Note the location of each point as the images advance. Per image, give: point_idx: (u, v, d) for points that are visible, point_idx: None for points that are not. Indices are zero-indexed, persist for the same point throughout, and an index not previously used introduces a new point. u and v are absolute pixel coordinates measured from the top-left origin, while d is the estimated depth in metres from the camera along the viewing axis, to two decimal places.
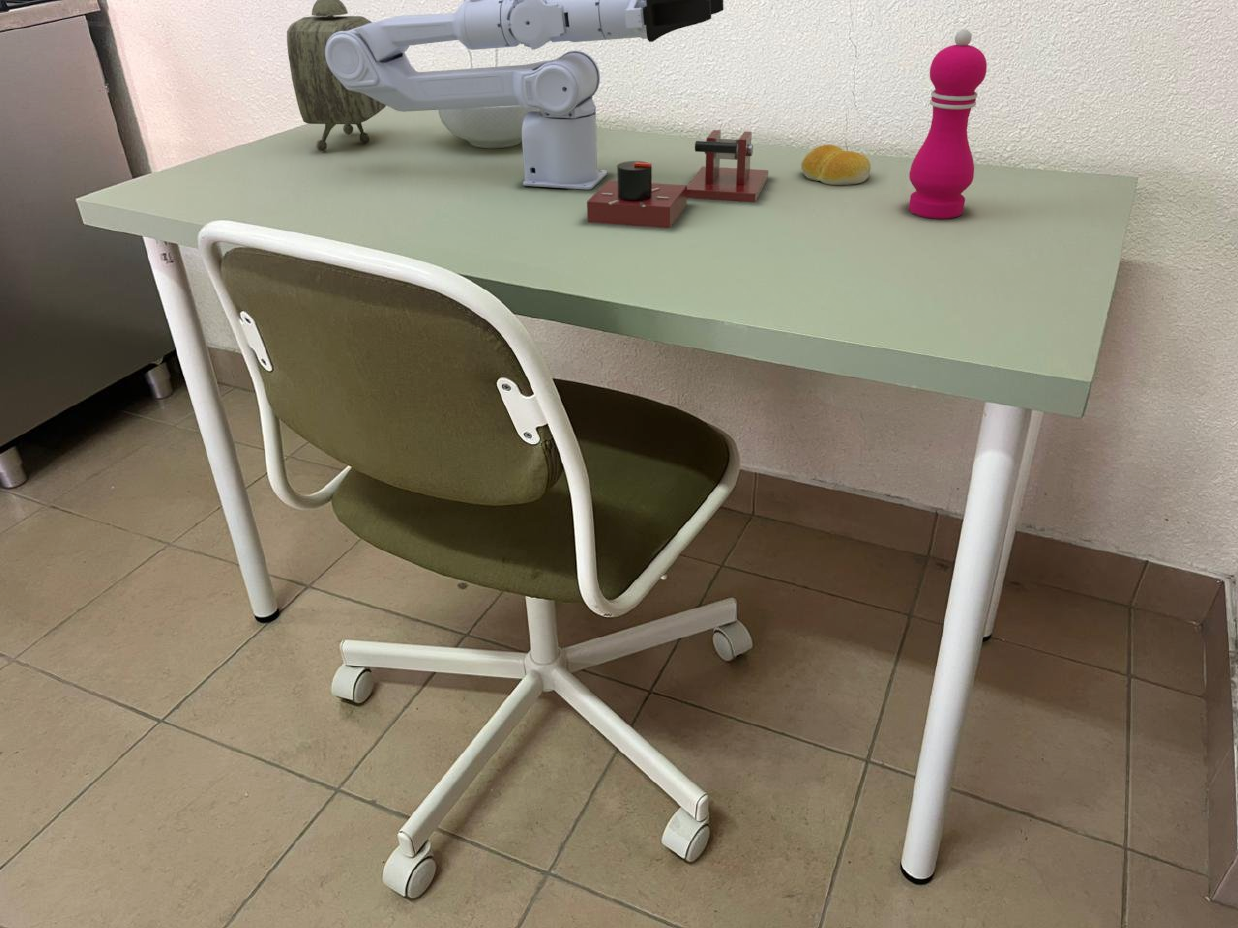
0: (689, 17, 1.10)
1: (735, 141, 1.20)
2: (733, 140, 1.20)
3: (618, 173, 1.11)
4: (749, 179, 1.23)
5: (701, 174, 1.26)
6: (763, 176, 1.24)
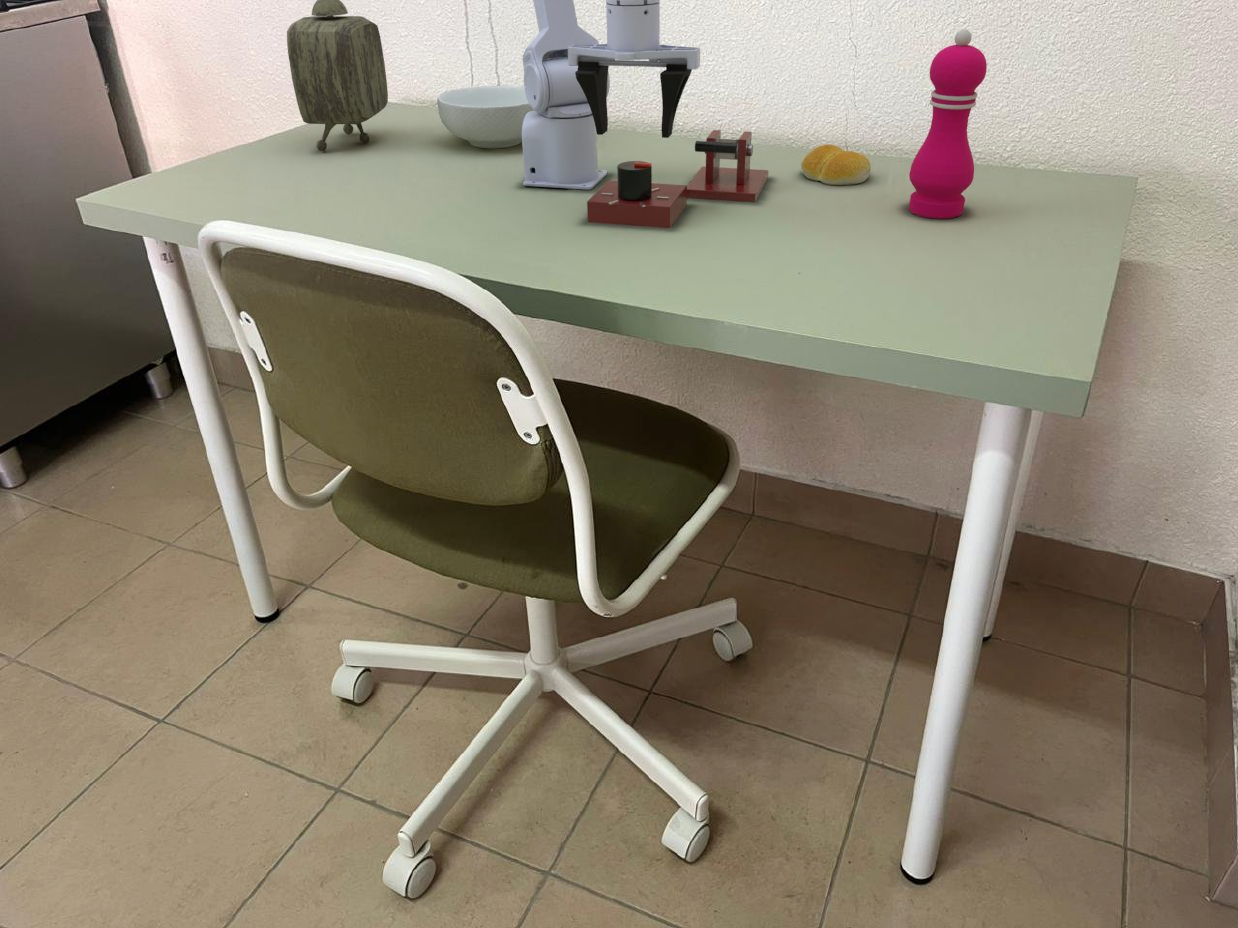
0: None
1: (735, 141, 1.20)
2: (733, 140, 1.20)
3: (618, 173, 1.11)
4: (749, 179, 1.23)
5: (701, 174, 1.26)
6: (763, 176, 1.24)
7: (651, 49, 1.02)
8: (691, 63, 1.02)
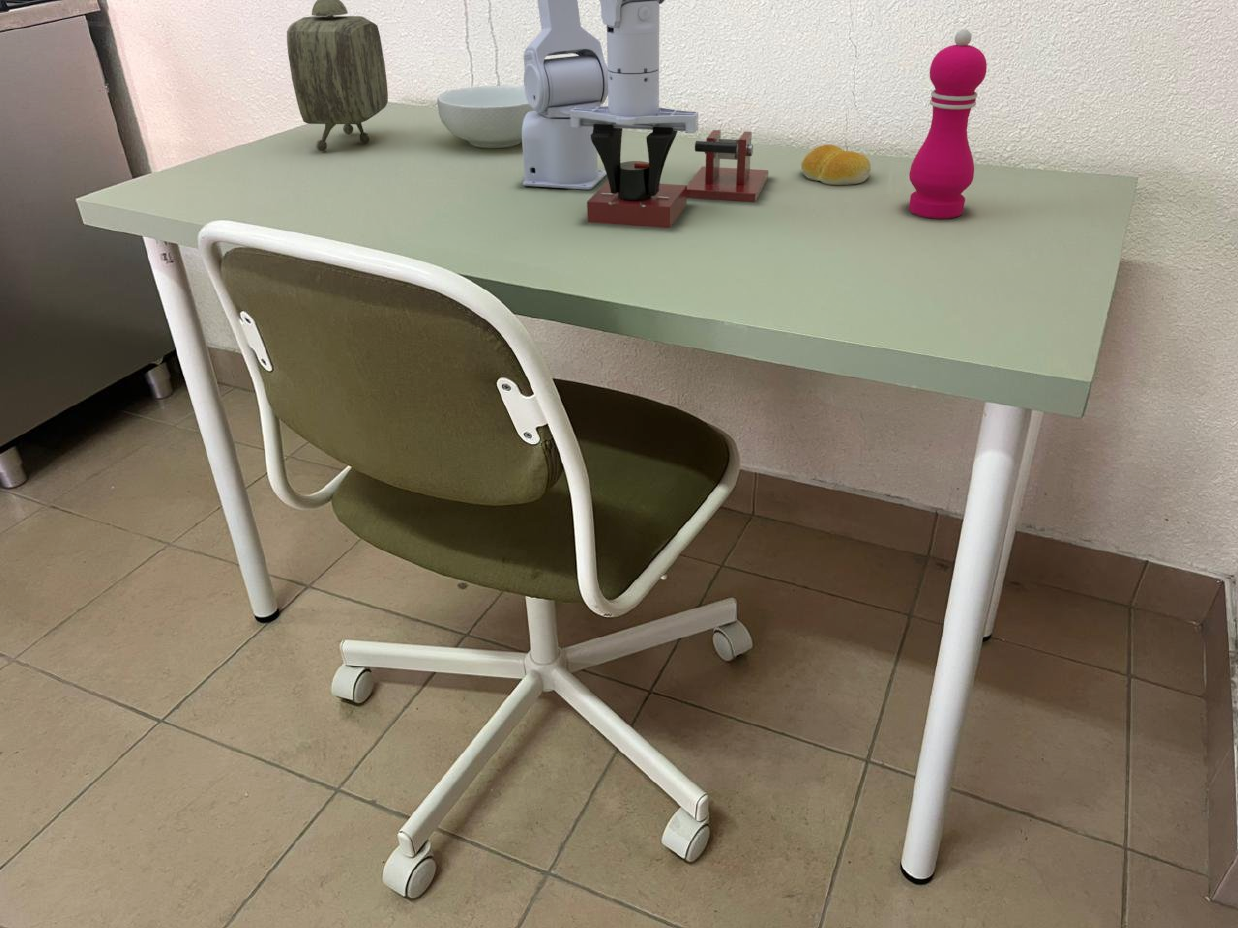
0: None
1: (735, 141, 1.20)
2: (733, 140, 1.20)
3: (618, 173, 1.11)
4: (749, 179, 1.23)
5: (701, 174, 1.26)
6: (763, 176, 1.24)
7: (651, 114, 1.06)
8: (689, 127, 1.06)
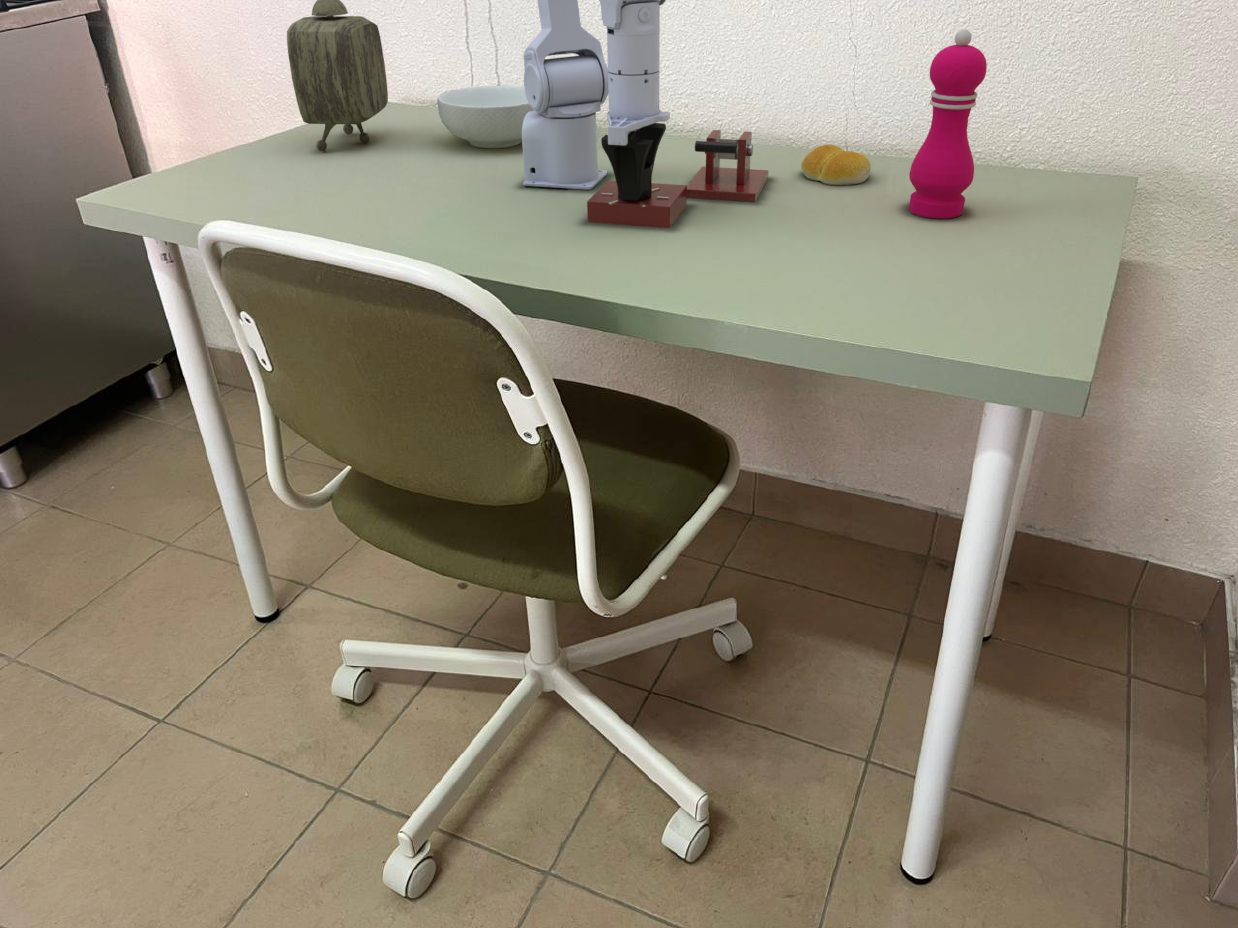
0: (623, 179, 1.09)
1: (735, 141, 1.20)
2: (733, 140, 1.20)
3: None
4: (749, 179, 1.23)
5: (701, 174, 1.26)
6: (763, 176, 1.24)
7: None
8: None
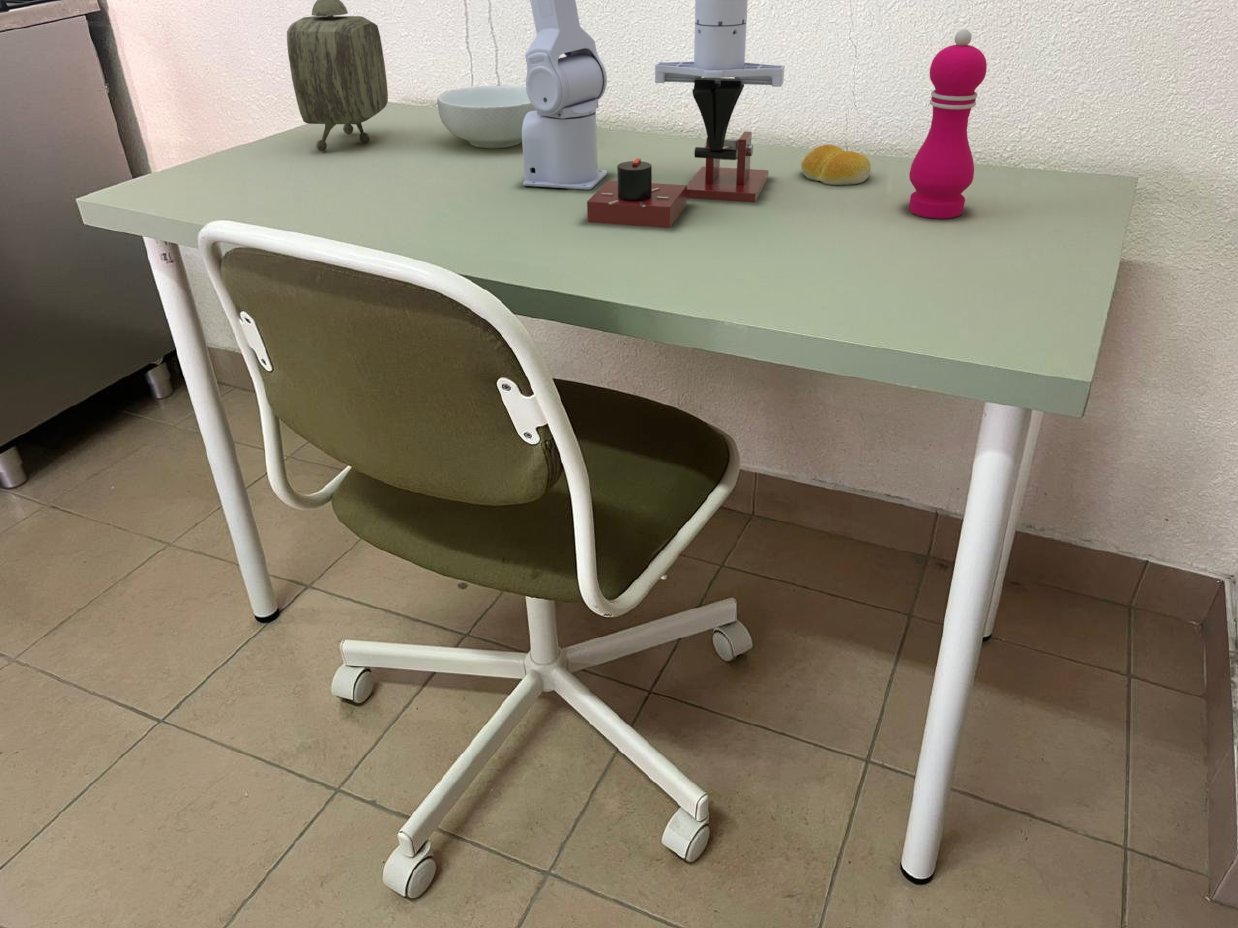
0: None
1: (735, 142, 1.19)
2: (733, 141, 1.19)
3: (640, 176, 1.10)
4: (749, 179, 1.23)
5: (701, 174, 1.26)
6: (763, 176, 1.24)
7: (738, 67, 1.06)
8: (776, 81, 1.06)
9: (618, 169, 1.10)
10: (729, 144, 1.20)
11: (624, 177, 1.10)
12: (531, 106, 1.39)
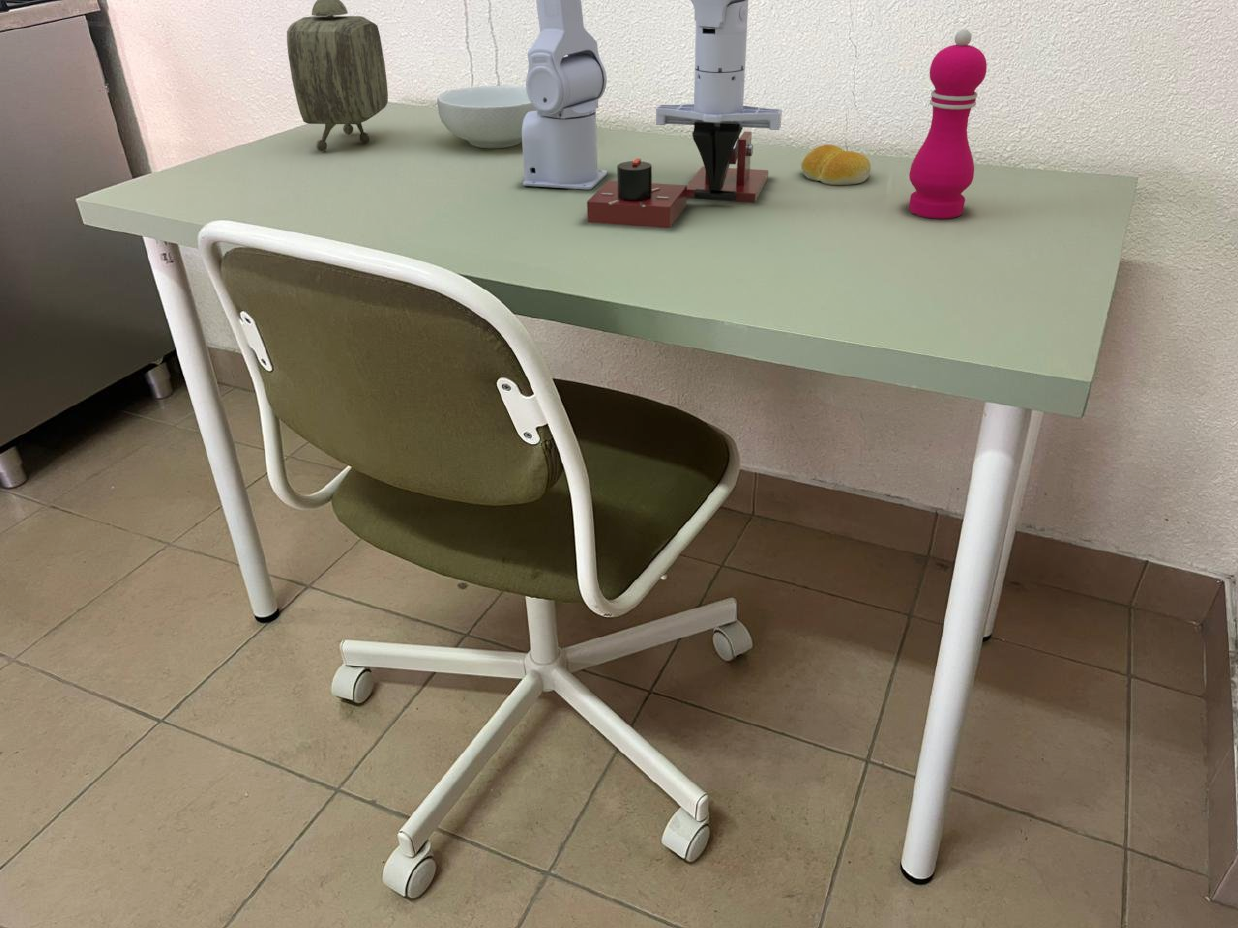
0: None
1: (734, 149, 1.20)
2: None
3: (640, 176, 1.10)
4: (749, 179, 1.23)
5: (701, 174, 1.26)
6: (763, 176, 1.24)
7: (736, 111, 1.09)
8: (774, 124, 1.09)
9: (618, 169, 1.10)
10: None
11: (624, 177, 1.10)
12: (531, 106, 1.39)
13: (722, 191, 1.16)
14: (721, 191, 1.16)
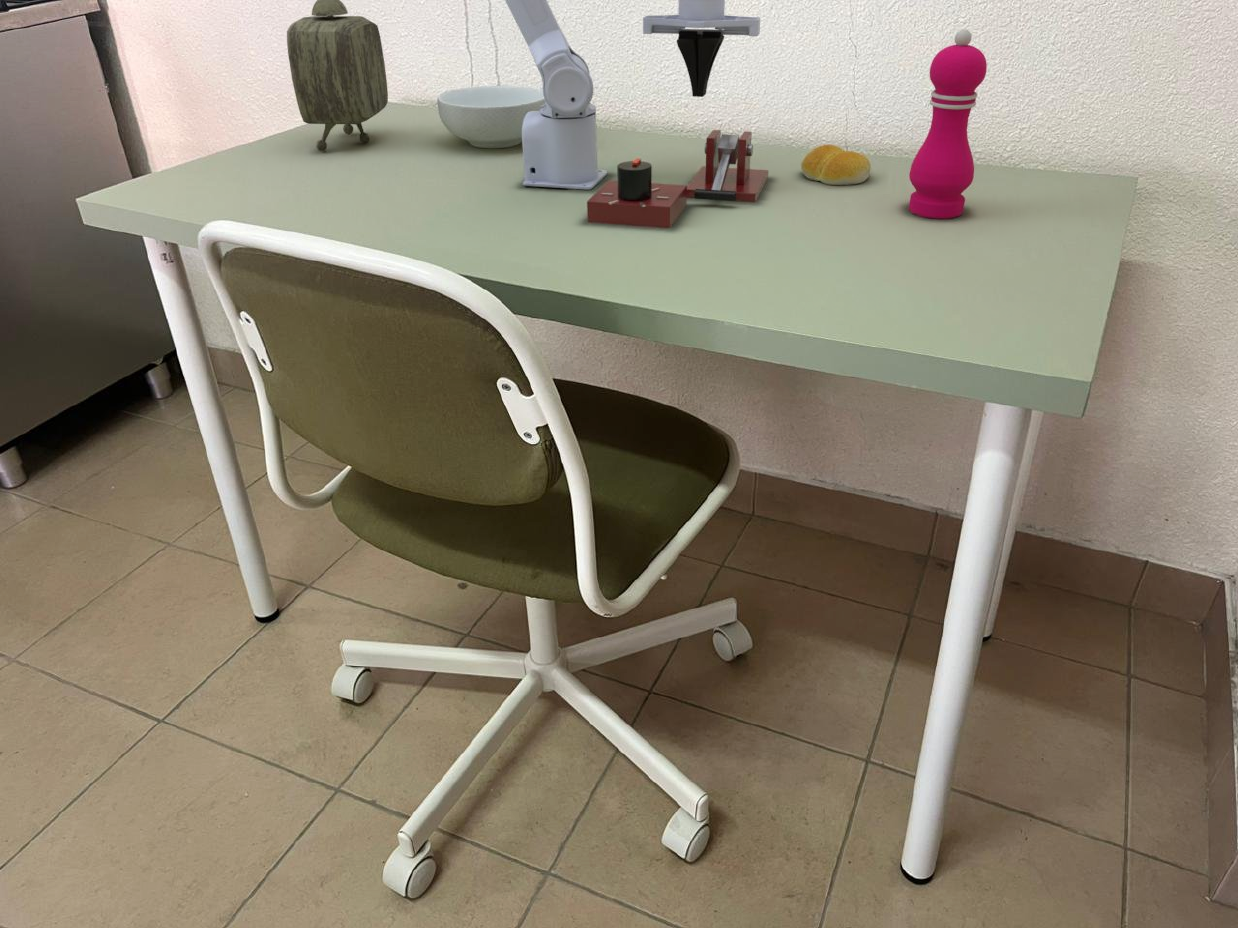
0: None
1: (734, 149, 1.20)
2: (732, 149, 1.19)
3: (640, 176, 1.10)
4: (749, 179, 1.23)
5: (701, 174, 1.26)
6: (763, 176, 1.24)
7: (718, 18, 1.17)
8: (753, 31, 1.17)
9: (618, 169, 1.10)
10: (728, 151, 1.20)
11: (624, 177, 1.10)
12: (531, 106, 1.39)
13: (722, 191, 1.16)
14: (721, 191, 1.16)
